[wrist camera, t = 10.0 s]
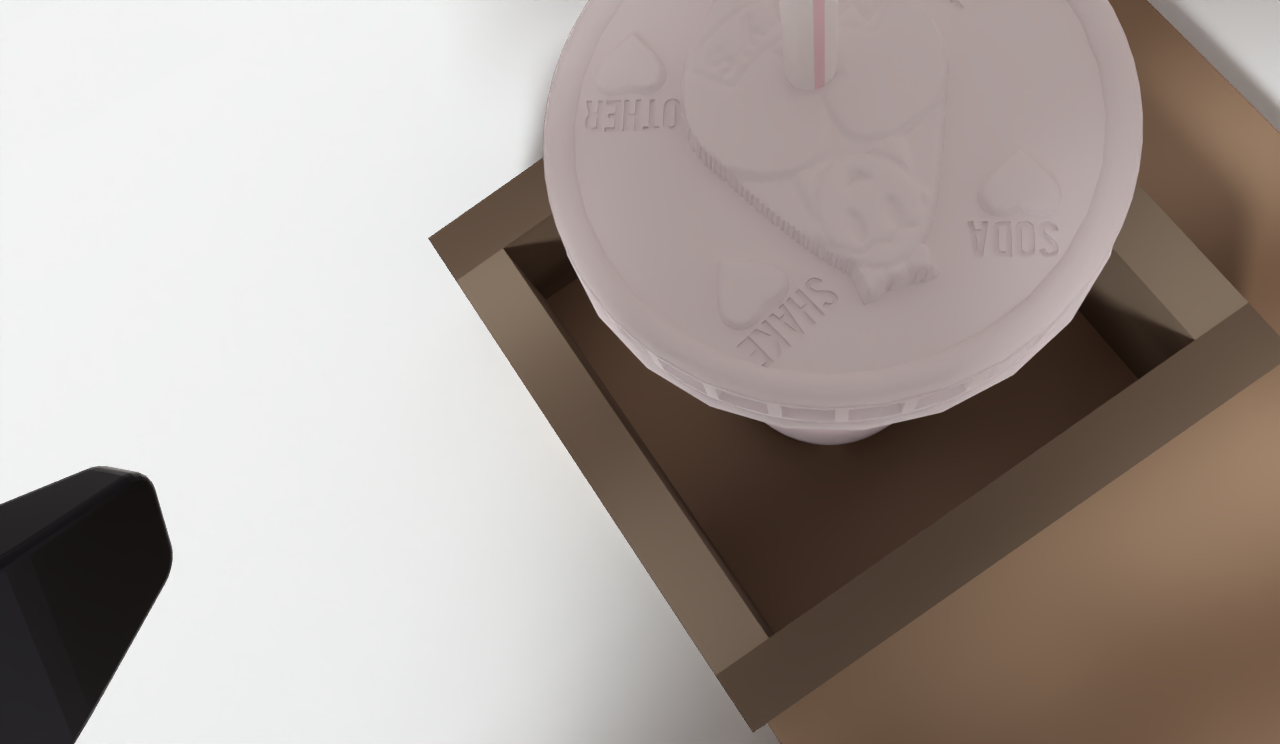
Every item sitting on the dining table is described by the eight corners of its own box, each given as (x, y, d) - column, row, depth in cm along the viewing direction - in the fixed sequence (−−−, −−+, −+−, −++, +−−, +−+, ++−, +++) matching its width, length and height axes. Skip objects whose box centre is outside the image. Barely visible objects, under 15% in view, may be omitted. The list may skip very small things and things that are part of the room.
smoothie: (921, 144, 21) (1082, -679, 8) (1062, 447, 20) (1566, 34, 6) (617, 262, 22) (290, -333, 9) (727, 568, 20) (534, 425, 7)
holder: (1674, 578, 18) (1893, 560, 15) (993, 1053, 18) (1033, 1159, 15) (1019, -89, 23) (1054, -232, 20) (482, 287, 23) (414, 217, 20)
